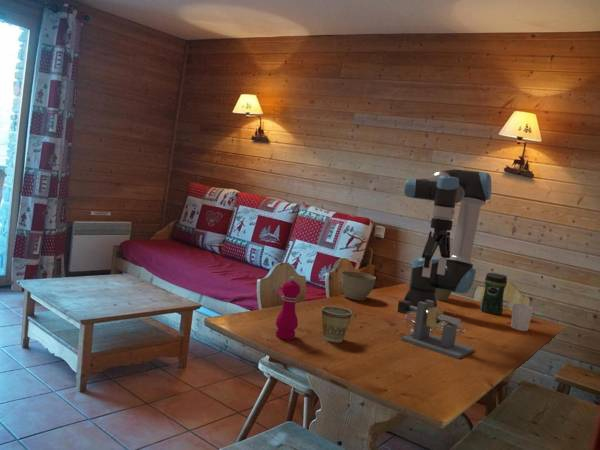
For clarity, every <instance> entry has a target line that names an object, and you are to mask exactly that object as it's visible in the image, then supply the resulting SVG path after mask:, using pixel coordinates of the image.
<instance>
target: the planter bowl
mask: <svg viewBox="0 0 600 450" xmlns="http://www.w3.org/2000/svg"><path fill="white" fill-rule="evenodd" d="M376 281H377V277H376V276H374V275H372V274H369V273H364V272H360V271H350V270H342V271H341V272H340V285H341V289H342V291H343V293H344V297H345V298H347V299H350V300H354V301H364V300H365V301H366V298H367V297H368V296H369V295H370V293H371V292H372V291H373V288H374V287H375V283H376Z"/></svg>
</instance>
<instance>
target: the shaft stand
mask: <svg viewBox="0 0 600 450" xmlns="http://www.w3.org/2000/svg"><path fill="white" fill-rule="evenodd" d="M433 307H434V301H431V300H425V302H418V306H417V312H416V314H415V320H414V325H413V326H414V327H413V332H412V333H410V334H407V335H404V336H402V337H401V339H400V340H401V341H403V342H406V343H408V344H412V345H415V346H419V347H422V348H423V349H427V350H429V351H430V350H431V351H433V352H437V353H440V354H443V355H446V356H448V357H451V358H454V359H461V358H463V357H465V356H468V355H469V354H470V353H473V352H475V348H474V347H472V346H468V345H466V344H462V343H460V342H456V338H457V337H456V336H457V332H458V331H457V329H458V326H456V325H453V324H449V323H446V324H443V328H442V333H441V337H440V336H438V335H433V334H430V331H431V327H429V326H426V322H427V317H426V310H428V309H429V308H433Z"/></svg>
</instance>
